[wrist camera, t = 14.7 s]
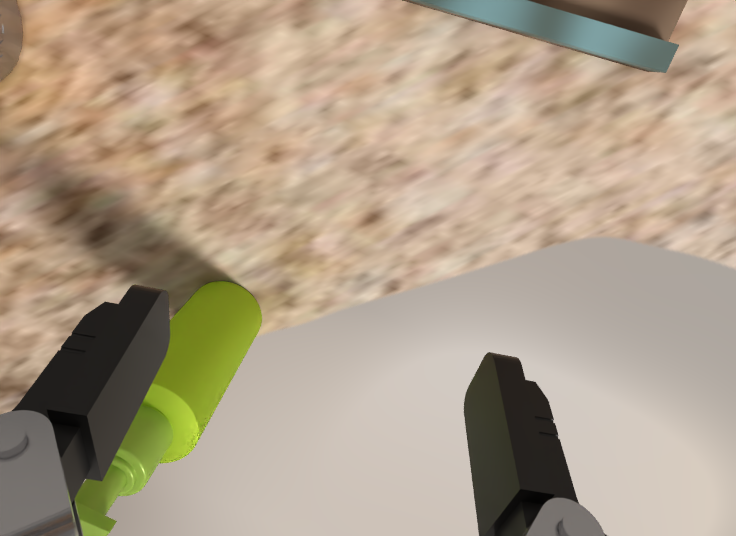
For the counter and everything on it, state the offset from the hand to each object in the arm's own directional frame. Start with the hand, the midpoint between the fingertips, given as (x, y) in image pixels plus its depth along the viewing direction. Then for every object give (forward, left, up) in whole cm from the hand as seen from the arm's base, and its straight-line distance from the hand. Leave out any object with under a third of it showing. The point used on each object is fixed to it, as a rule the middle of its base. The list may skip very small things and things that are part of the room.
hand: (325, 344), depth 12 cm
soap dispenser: (-9, -15, -24) cm, 30 cm away
